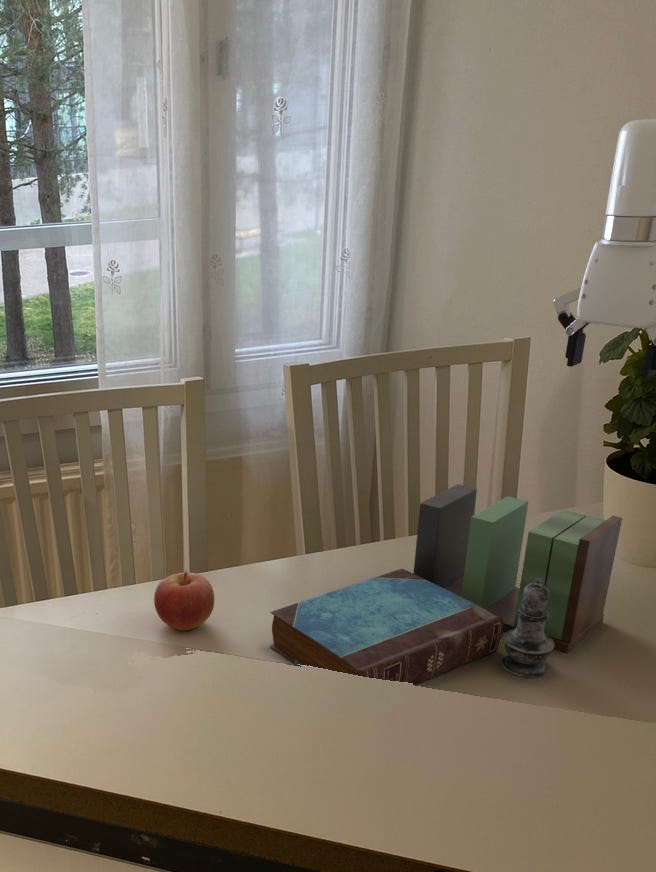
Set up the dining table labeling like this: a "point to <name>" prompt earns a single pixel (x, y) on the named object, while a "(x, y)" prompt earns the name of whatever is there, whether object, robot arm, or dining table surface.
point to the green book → (494, 551)
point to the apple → (184, 600)
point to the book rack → (526, 562)
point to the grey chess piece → (529, 635)
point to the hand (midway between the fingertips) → (610, 369)
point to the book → (386, 629)
